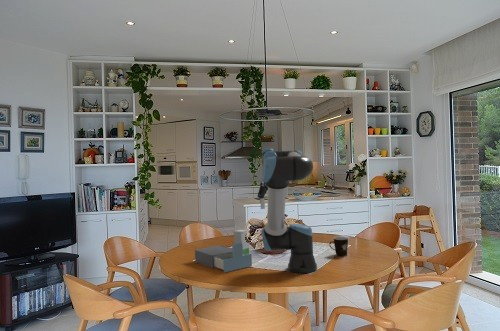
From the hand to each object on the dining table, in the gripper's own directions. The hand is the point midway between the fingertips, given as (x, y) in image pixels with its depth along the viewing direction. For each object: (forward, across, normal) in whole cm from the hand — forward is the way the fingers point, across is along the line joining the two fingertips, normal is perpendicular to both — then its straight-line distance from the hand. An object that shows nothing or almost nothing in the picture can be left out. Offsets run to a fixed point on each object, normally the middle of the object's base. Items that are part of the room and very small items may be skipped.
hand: (270, 209), depth 212 cm
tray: (+28, +3, +29) cm, 41 cm away
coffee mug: (+29, -25, -32) cm, 50 cm away
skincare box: (+29, +18, +9) cm, 35 cm away
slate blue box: (+29, +15, +29) cm, 44 cm away
